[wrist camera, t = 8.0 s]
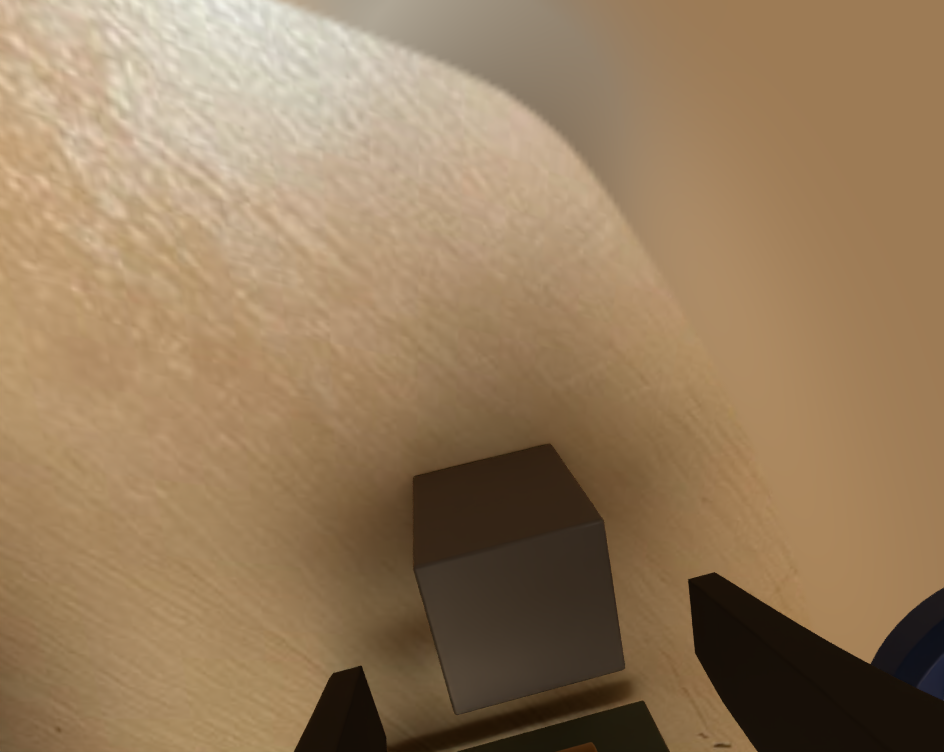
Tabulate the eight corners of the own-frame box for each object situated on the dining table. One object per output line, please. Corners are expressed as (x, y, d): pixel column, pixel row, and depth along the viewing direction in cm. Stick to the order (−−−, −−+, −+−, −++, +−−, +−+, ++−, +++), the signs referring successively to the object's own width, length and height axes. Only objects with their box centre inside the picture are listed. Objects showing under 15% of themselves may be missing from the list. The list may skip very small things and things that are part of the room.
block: (551, 442, 15) (604, 519, 11) (571, 560, 16) (626, 670, 12) (412, 475, 15) (412, 568, 11) (443, 593, 16) (454, 717, 12)
